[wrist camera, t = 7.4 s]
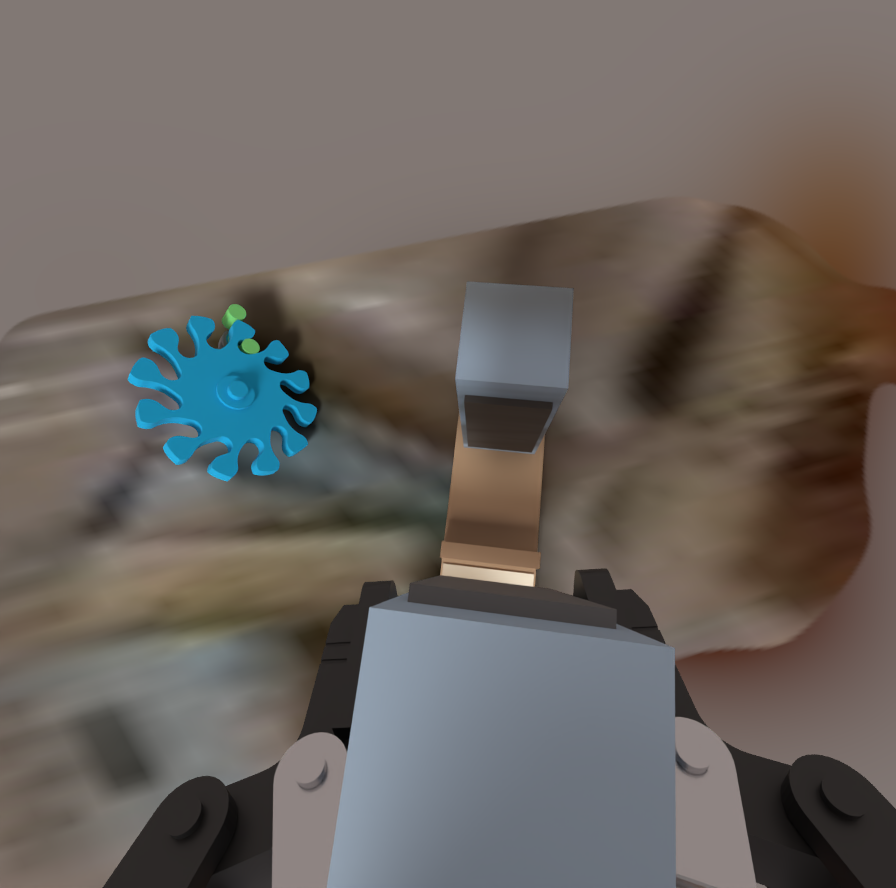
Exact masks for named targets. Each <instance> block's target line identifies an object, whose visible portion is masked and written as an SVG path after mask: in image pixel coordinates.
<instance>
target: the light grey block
mask: <svg viewBox="0 0 896 888" xmlns="http://www.w3.org/2000/svg"><path fill="white" fill-rule="evenodd" d="M616 622H617V610H616V609H613V608H610V607H607V606H604V605H600V604H597V603H594V602H591V601H588V600H584V599H581V598H578V597H575V596H572V595H568V594H565V593H562V592H559V591H556V590H553V589H548V588H540V587H532V586H524V585H516V584H508V583H500V582H492V581H484V580H476V579H468V578H460V577H452V576H444V575H440V576H436V577H432V578H428V579H425V580H421V581H417V582H413V583H410V587H409V592H408V593H406V594H403V595H400V596H398V597H395V598H393V599H390V600H387V601H385V602H382V603H380V604H377V605H374V606H372V607H369V614H368V620H367V627H366V634H365V640H364V647H363V653H362V660H361V666H360V673H359V679H358V686H357V692H356V699H355V705H354V712H353V719H352V725H351V732H350V738H349V745H348V751H347V758H346V764H345V771H344V777H343V784H342V791H341V797H340V804H339V810H338V817H337V823H336V830H335V836H334V843H333V849H332V856H331V863H330V869H329V876H328V882H327V888H676V799H675V648H673V647H671V646H668V645H666V644H664V643H661V642H659V641H656V640H654V639H652V638H649V637H647V636H644V635H642V634H640V633H637V632H635V631H632V630H630V629H628V628H625V627H623V626H620V625H618V624H616Z"/></svg>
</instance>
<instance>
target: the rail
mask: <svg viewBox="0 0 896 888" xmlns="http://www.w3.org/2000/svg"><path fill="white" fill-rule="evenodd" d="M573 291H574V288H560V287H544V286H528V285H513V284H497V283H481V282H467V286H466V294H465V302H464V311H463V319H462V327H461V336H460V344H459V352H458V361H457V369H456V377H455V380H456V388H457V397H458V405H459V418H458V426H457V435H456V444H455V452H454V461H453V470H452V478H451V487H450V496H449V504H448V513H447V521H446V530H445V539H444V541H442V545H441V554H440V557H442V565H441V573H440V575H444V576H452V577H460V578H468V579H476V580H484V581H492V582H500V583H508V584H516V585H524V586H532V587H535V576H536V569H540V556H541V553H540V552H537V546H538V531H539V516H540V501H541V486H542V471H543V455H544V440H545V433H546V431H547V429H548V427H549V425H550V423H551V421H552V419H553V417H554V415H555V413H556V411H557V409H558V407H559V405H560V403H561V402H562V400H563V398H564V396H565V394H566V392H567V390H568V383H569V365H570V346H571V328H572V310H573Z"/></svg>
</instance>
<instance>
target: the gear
mask: <svg viewBox="0 0 896 888" xmlns="http://www.w3.org/2000/svg"><path fill="white" fill-rule="evenodd" d="M245 317H246V311H245V310H244V308H243V307H241V306H240V305H237V304H232V305H230V306H229V308H228V310H227V311H226V313H225V315H224V316H223V318H222V323H223V325H224V326H225V327H226V328H228V329H229V330H227V331H225V332H224V334H223V335H222V337H221V338H220V340H219V345H218V349H214V348H212V347H210V346H209V345H208V343H207V341H206V340H207V339H208V338H209V337H210V336H211V334H212V332H213V331H214V328H215V324H214V321H213V320H212V319H209V318H206V317H201V316H191V318H190V320H189V322H188V324H187V327H186V329H187V332H188V334H189V335H190V336H191V338H192V340H193V342H194V345H195V357H194V358H186V357H184V356H182V355H181V354H180V353H179V352H178V349H177V346H178V341H179V338H178V335H177V333H176V332H175V331H174V330H172V329H171V328H166V329H161V330H158V331H156V332H154V333H152V334H151V335H150V337H149V340H148V345H149V347H150V348H151V349H152V350H153V351H154V352H156V353H158V354H159V355H161V356H162V357H164V358H165V359H166V360H167V361H168V362H169V363H170V364H171V365H172V367H173V369H174V370H175V372H176V374H177V377H178V379H177V380H168V379H166V378H164V377H163V376H162V375H161V373H160V371H159V369H158V367H157V365H156V364H155V363H154V362H153V361H152V360H150V359H147V358H141V359H139V360H138V361H137V362H136V363H135V365H134V366H133V368H132V370H131V372H130V375H129V377H128V381H129V382H130V383H132V384H133V385H135V386H138V387H147V388H152V389H155V390H158V391H160V392H163V393H165V394H166V395H168V396H169V397H170V398H172V399H173V400H174V401H176V402H177V403H178V405H179V409H178V410H169V409H167V408H165V407H164V406H162V405H161V404H160V403H158V402H156V401H154V400H151V399H142V400H140V401H139V403H138V405H137V408H136V414H135V415H136V421H137V425H138V427H140V428H144V429H150V428H154V427H156V426H158V425H161V424H166V423H179V424H184V425H189V426H192V427H194V428H195V429H196V430H197V432H198V437H196V438H189V437H184V436H174V437H172V438H170V439H169V440H168V441H167V442H166V444H165V445H164V447H163V449H164V452H165V453H166V455H167V456H168V457H169V458H170V459H171V460H172V461H173V462H174V463H175V464H176V465H180V464H183V463H185V462H186V461H187V460H188V459H189V458H190V457H191V456H192V454H193V453H194V451H195V450H196V449H197V448H199V447H201V446H203V445H205V444H208V443H212V442H216V441H219V442H222V443H224V444H225V445H226V446H227V448H228V453H227V454H224V455H221V456H218V457H217V458H215V459H214V460H213V461H212V462H211V463H210V465H209V466H208V473H209V474H210V475H212V476H214V477H216V478H218V479H221V480H225V481H228V480H230V479H231V478H232V477H233V476H234V475H235V474H236V473H237V471H238V464H237V459H238V454H239V451H240V449H241V448H242V446H243V445H244V444H245V443H253V444H255V445H256V446H257V447H258V449H259V455H258V456H257V458H256V459H255V460H254V461H253V463H252V466H251V468H252V472H253V474H254V475H269V474H273V473H275V472H276V471H277V470H278V469H279V461H278V459H277V457H276V456H275V455H274V453H273V451H272V448H271V444H270V434H271V431H272V430H274V431H277V432H279V433H280V434H281V436H282V450H283V452H284V453H285V454H286V455H287V456H288V457H290V456H293V455H295V454H297V453H298V452H299V451H301V450H302V449H303V448H305V447H306V446H307V445H308V442H307V440H306V438H305V437H304V436H303V435H301V434H299V433H297V432H296V431H295V430H294V429H293V428H292V427H291V426H290V425H289V424H288V422H287V420H286V418H285V416H284V414H283V409H286V410H288V411H290V412H291V413H292V415H293V417H294V419H295V421H296V422H297V424H299V425H300V426H302V427H307V426H308V425H309V424H310V423H312V421H313V420H314V418H315V416H316V413H317V408H316V407H315V406H314V405H312V404H308V403H301V402H298V401H296V400H294V399H292V398H291V397H289V396H288V395H287V394H285V393H284V392H283V391H282V390H281V388H280V385H285V386H286V387H288V388H289V389H290V390H291V391H293V392H294V393H297V394H302V393H304V392H305V391H306V390H307V389H308V388H309V379H308V375H307V372H305V371H302V370H298V371H295V372H293V373H287V374H285V373H279V372H275V371H272V370H269V369H268V368H267V367H266V366H265V364H264V362H269V363H272V364H276V365H278V364H281V363H283V362H284V360H285V359H286V358H287V357H288V356H289V354H288V351H287V350H286V348H285V347H284V346H283V345H282V343H281V342H280V341H279V340H274V341H272V342H271V343H270V344H269V345H268V347H267V348H266V349H265V350H264V351H262V352H260V353H258V352H259V349H260V347H259V344H258V343H257V342H256V341H255V340H253V339H252V338H253V336H254V334H255V330H254V329H253V328H252V327H251V326H249V325H248V324H246V323H244V322H242V321H243V320H244V318H245Z"/></svg>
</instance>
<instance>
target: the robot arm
mask: <svg viewBox="0 0 896 888" xmlns="http://www.w3.org/2000/svg"><path fill="white" fill-rule="evenodd" d="M573 596H575V597H578V598H581V599H584V600H588V601H591V602H594V603H597V604H600V605H604V606H607V607H610V608H613V609H616V610H617V622H616V624H618V625H620V626H623V627H625V628H628V629H630V630H632V631H635V632H637V633H640V634H642V635H644V636H647V637H649V638H652V639H654V640H656V641H659V642H661V643H664V644H665V641H664V639H663V637H662V635H661V632H660V630H658V626H657V624H656V622H655V619H654V617H653V615H652V613H651V611H650V609H649V606H648V605H647V604H646V603H645V602H644V601H643V600H642V599H641V598H640V597H639V596H638V595H637V594H636V593H635V592H634V591H633V590H632V589H628V590H616V588H615V586H614V583H613V581H612V578H611V576H610V573H609V571H608V570H607V569H588V570H576V571H575V578H574V593H573ZM395 597H398V596H397V591H396V586H395V583H394V581H378V582H365V583H364V584H363V587H362V591H361V596H360V601H359V604H356V605H344V606H343V607H342V609H341V610H340V611H339V613H338V614H337V616H336V617H335V618H334V620H333V621H332V622H331V625H330V629H329V633H328V636H327V640H326V647H325V648H324V651H323V655H322V659H321V664H320V666H319V670H318V673H317V677H316V681H315V685H314V688H313V692H312V696H311V699H310V703H309V707H308V710H307V714H306V718H305V722H304V725H303V728H302V731H301V734H300V736H299V738H298V740H297V741H296V743H294V744H293V745H292V746H291V747H290V748H289V749H288V750H287V751H286V753H285V754H284V756H283V757H282V759H281V760H280V761H279V762H278V763H276V764H275V765H273V766H272V767H270V768H269V769H266V770H264V771H262V772H260V773H257V774H255V775H253V776H250V777H248V778H245V779H243V780H240V781H238V782H235V783H233V784H230V785H228V786H225V785H224V784H223V783H222V782H221V781H220V780H219V779H217V778H215V777H211V776H202V777H197V778H194V779H191V780H189V781H187V782H185V783H183V784H182V785H180V786H179V787H178V788H176V789H175V790H174V791H173V792H171V793H170V794H169V795H168V796H167V797H166V798H165V799H164V801H163V802H162V803H161V804H160V806H159V807H158V808H157V810H156V811H155V812H154V814H153V815H152V817H151V818H150V820H149V821H148V823H147V824H146V826H145V827H144V828H143V830H142V831H141V833H140V834H139V836H138V837H137V839H136V840H135V842H134V843H133V844H132V846H131V847H130V849H129V850H128V852H127V853H126V855H125V856H124V857H123V859H122V860H121V862H120V863H119V865H118V866H117V868H116V869H115V871H114V872H113V873H112V875H111V876H110V878H109V879H108V881H107V882H106V884H105V885H104V887H103V888H327V882H328V876H329V869H330V863H331V856H332V849H333V843H334V836H335V830H336V823H337V817H338V810H339V804H340V797H341V791H342V784H343V777H344V771H345V764H346V758H347V751H348V745H349V738H350V732H351V725H352V719H353V712H354V705H355V699H356V692H357V686H358V679H359V673H360V666H361V660H362V653H363V647H364V640H365V634H366V627H367V620H368V614H369V607H372V606H374V605H377V604H380V603H382V602H385V601H387V600H390V599H393V598H395ZM675 799H676V888H757V885H756V883H759V884H762V885H765V886H766V887H767V888H896V809H895V808H894V807H893V806H892V805H891V804H890V803H889V802H888V800H887V799H885V797H884V796H883V795H881V793H880V792H879V791H878V790H877V789H876V788H875V787H874V786H873V785H872V784H871V783H870V782H869V781H868V780H867V779H866V778H865V777H863V776H862V775H861V774H859V773H858V772H857V771H855V770H854V769H852V768H851V767H849V766H848V765H846V764H844V763H842V762H840V761H838V760H835V759H833V758H830V757H826V756H823V755H806V756H802V757H800V758H798V759H797V760H796V761H795V762H794V763H793V764H792V766H790V765H787V764H784V763H780V762H777V761H773V760H770V759H766V758H762V757H759V756H756V755H752V754H749V753H746V752H743V751H741V750H739V749H737V748H734V747H732V746H731V745H729V744H728V743H726V742H724V741H723V740H722V739H720V738H719V737H718V736H717V735H716V734H715V733H714V732H713V731H712V730H710V729H709V728H708V727H707V725H706V724H705V723H704V722H703V720H702V719H701V717H700V716H699V714H698V712H697V710H696V708H695V706H694V704H693V702H692V699H691V697H690V696H689V693H688V691H687V689H686V686H685V684H684V682H683V680H682V678H681V676H680V674H679V671H678V669H677V667H676V665H675Z"/></svg>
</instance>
